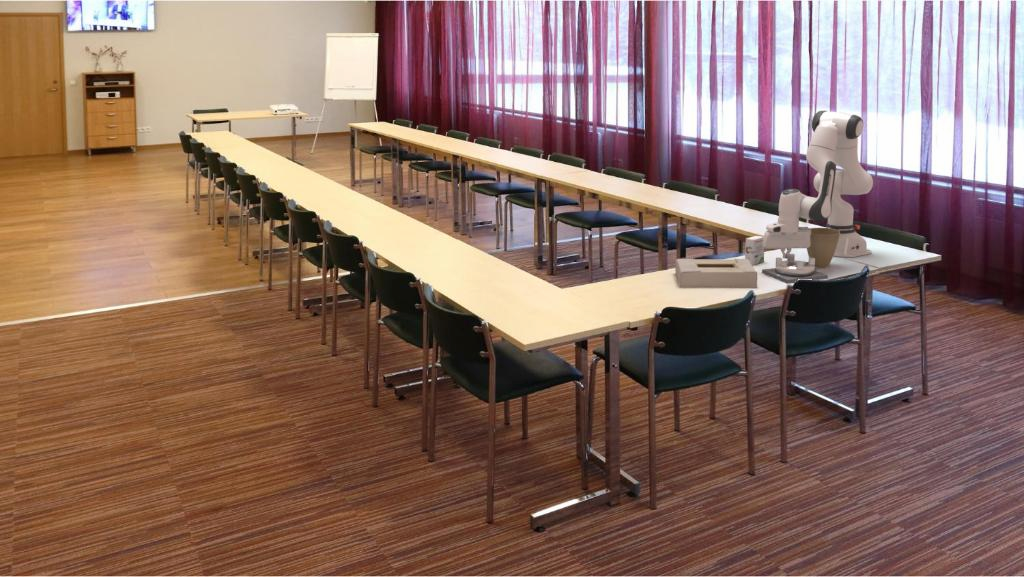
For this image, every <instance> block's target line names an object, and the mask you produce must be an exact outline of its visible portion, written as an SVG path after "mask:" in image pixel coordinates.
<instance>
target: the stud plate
mask: <svg viewBox="0 0 1024 577" xmlns="http://www.w3.org/2000/svg"><path fill="white" fill-rule="evenodd" d="M775 268H776V267H772V268H764V269H761V274H764V275H767V276H768V277H771V278H774V279H776V280H779V281H781V282H783V283H786V284H792V283H794V284H795V283H796V282H795V281H797V280H798V279H812V280H811V281H818V280H828V279H829V275H828V274H827V273H823V272H822V271H817V270H816V269H814V274H812V275H809V276H787V275H782V274H779V273H777V272H776V271H775Z"/></svg>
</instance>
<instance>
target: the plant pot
mask: <svg viewBox="0 0 1024 577" xmlns="http://www.w3.org/2000/svg"><path fill="white" fill-rule="evenodd" d="M809 228H810V229H811V235H810V247H809V248H806V252H807V256H808V258H809V257H814V258H815V268H816V269H817V268H819V269H825V268H828V267H829V266H830V265H831V262H832V260H833V258H834V256H833V255H834V253H835V250H836V247H837V243H838V239H839V235H840V231H839V230H836V229H831V228H826V227H809Z"/></svg>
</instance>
